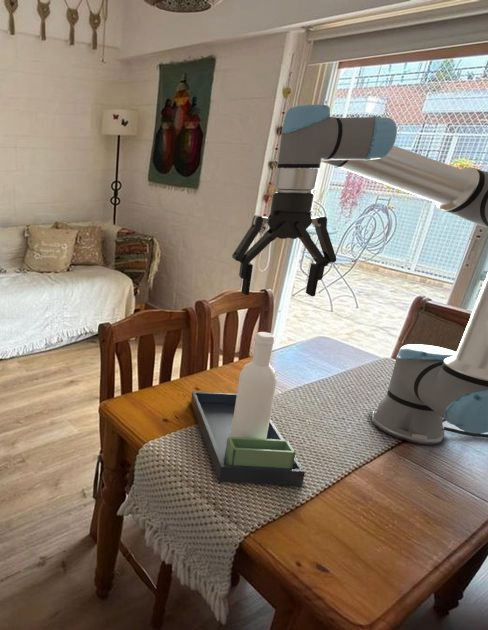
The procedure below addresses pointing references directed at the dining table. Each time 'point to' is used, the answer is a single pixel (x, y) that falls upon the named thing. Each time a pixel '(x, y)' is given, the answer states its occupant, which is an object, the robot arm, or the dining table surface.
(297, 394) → the dining table surface
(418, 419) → the robot arm
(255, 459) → the green open box
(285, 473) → the tray
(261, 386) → the bottle
